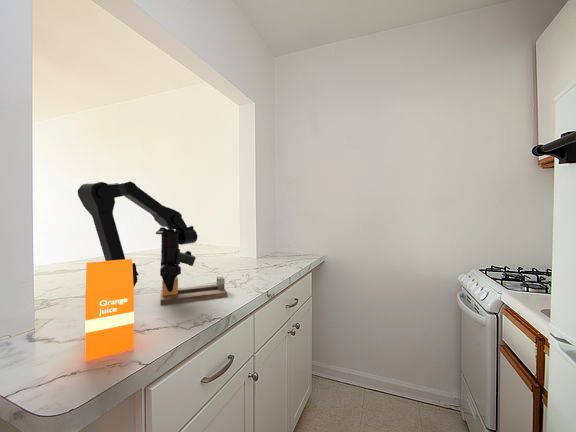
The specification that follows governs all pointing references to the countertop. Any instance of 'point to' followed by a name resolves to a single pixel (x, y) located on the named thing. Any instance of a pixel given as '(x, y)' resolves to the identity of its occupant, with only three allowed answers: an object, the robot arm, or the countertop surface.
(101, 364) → the countertop surface
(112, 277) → the orange juice
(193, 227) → the robot arm
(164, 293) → the block
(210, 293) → the track
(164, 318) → the countertop surface
